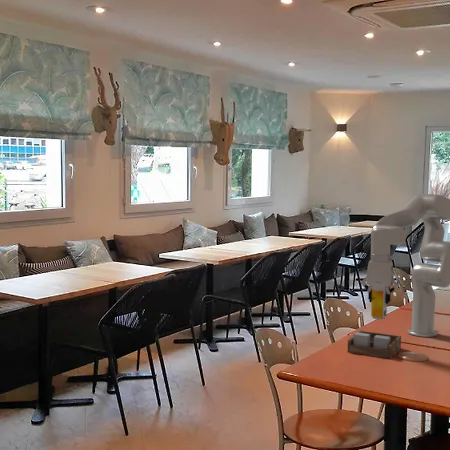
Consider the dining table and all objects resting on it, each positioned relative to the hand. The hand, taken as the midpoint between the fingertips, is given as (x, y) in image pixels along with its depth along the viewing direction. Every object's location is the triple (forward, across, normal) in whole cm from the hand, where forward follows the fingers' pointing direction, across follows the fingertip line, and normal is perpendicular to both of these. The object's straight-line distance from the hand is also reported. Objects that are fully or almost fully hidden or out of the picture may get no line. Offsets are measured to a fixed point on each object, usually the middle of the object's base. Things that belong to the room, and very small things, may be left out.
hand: (379, 302), depth 252 cm
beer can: (+7, 0, 0) cm, 7 cm away
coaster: (+19, -15, +6) cm, 25 cm away
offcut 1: (+19, +4, +9) cm, 21 cm away
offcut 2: (+19, -4, +9) cm, 21 cm away
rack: (+19, 0, +4) cm, 19 cm away
